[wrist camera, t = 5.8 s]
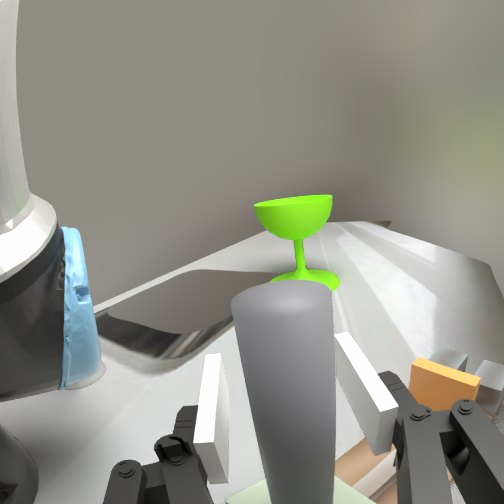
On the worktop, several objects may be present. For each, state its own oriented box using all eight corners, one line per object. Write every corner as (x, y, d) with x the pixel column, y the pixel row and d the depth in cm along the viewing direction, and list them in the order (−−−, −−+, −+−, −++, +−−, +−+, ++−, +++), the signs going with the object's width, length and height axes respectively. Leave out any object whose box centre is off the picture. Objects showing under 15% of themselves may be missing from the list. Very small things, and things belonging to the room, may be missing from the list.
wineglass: (351, 289, 61) (344, 197, 57) (272, 305, 60) (259, 208, 56) (326, 268, 77) (318, 193, 73) (260, 280, 76) (249, 203, 72)
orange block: (406, 405, 23) (411, 364, 22) (434, 376, 26) (440, 336, 25) (462, 429, 18) (475, 386, 17) (485, 394, 21) (496, 352, 20)
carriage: (233, 520, 15) (158, 298, 12) (307, 478, 18) (286, 258, 15) (300, 589, 9) (266, 384, 6) (379, 530, 12) (426, 287, 9)
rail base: (164, 560, 14) (140, 536, 13) (435, 380, 30) (440, 346, 29) (227, 648, 6) (208, 644, 5) (501, 403, 22) (513, 367, 21)
